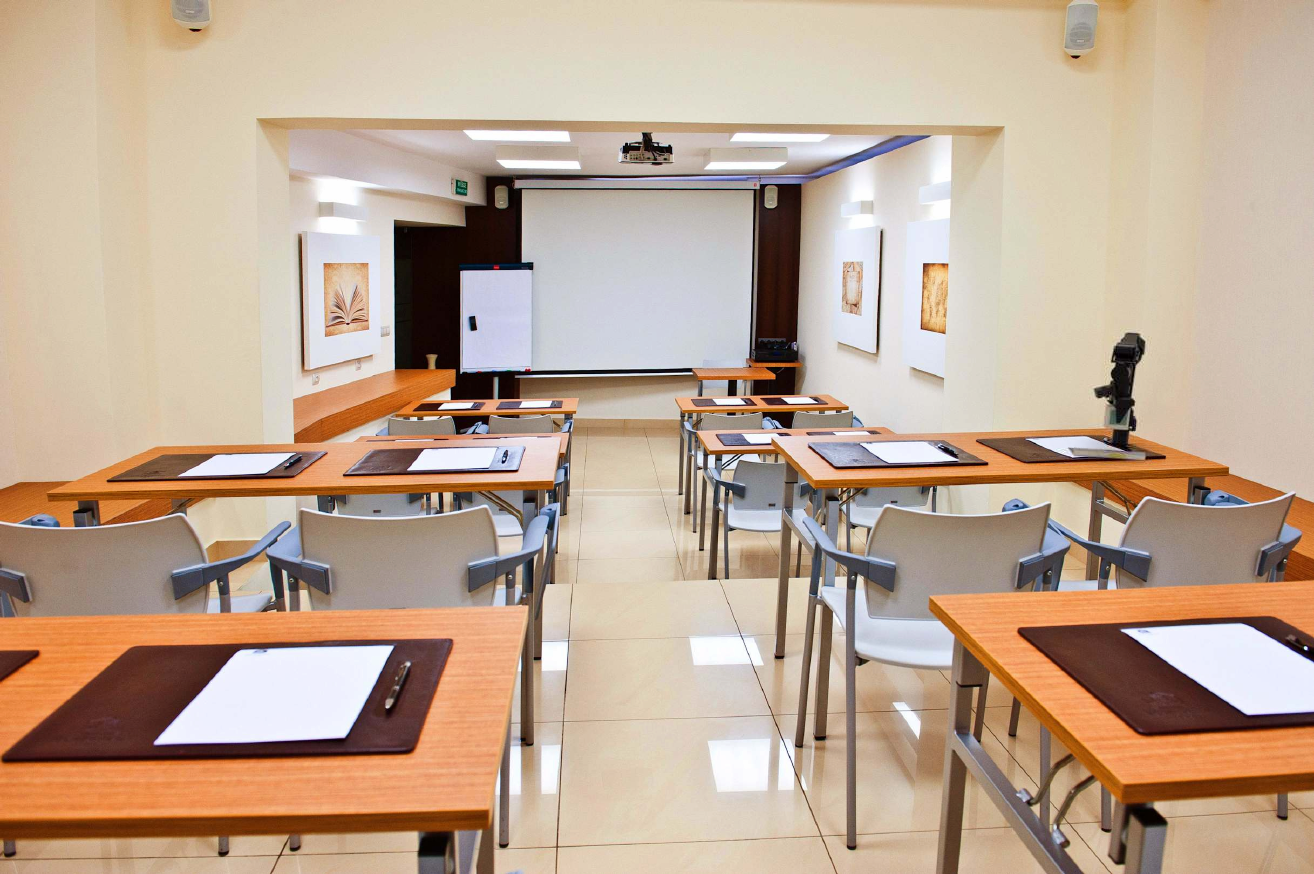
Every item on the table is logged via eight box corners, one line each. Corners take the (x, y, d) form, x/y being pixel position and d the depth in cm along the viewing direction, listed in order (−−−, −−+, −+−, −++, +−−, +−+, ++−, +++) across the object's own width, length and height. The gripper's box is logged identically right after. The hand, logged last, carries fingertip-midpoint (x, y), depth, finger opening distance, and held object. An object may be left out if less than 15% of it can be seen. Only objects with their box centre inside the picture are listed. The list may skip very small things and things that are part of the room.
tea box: (1103, 425, 330) (1106, 404, 328) (1124, 427, 329) (1127, 405, 327) (1106, 428, 325) (1109, 406, 324) (1127, 429, 324) (1130, 407, 322)
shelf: (1067, 449, 339) (1068, 441, 338) (1135, 454, 333) (1136, 446, 332) (1074, 457, 326) (1075, 448, 325) (1144, 462, 320) (1145, 454, 320)
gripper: (1091, 373, 334) (1086, 415, 337) (1103, 381, 316) (1097, 425, 320) (1125, 375, 331) (1119, 417, 335) (1138, 383, 314) (1132, 427, 317)
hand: (1116, 421), depth 326 cm, fingers closed on tea box, 5 cm apart
